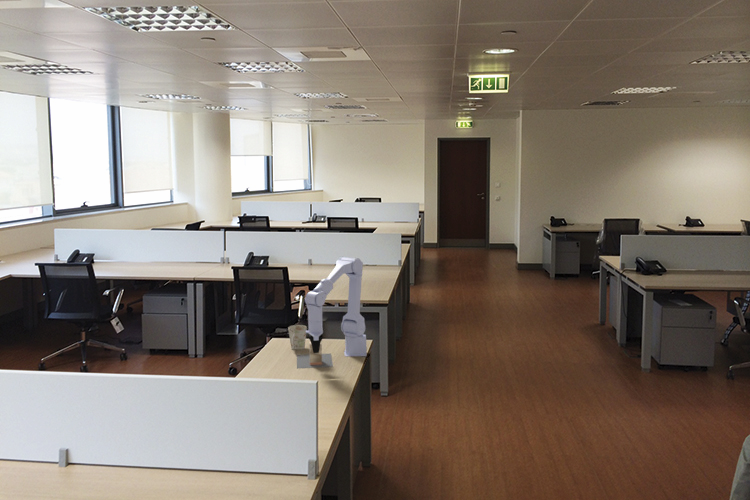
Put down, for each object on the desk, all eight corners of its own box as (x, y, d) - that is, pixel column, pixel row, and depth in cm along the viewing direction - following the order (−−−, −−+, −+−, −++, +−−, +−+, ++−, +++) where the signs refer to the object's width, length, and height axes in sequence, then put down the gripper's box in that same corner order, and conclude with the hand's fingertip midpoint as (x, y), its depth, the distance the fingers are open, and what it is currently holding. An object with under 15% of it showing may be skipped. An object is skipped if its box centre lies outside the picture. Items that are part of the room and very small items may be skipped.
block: (321, 360, 275) (321, 340, 274) (321, 364, 271) (321, 343, 269) (309, 361, 275) (309, 340, 274) (310, 365, 270) (309, 344, 269)
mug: (308, 345, 298) (308, 325, 297) (303, 354, 286) (302, 332, 284) (291, 345, 299) (290, 324, 298) (284, 353, 287) (284, 332, 285)
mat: (330, 354, 285) (330, 353, 285) (333, 367, 268) (333, 366, 268) (296, 355, 284) (296, 354, 284) (296, 369, 266) (296, 368, 266)
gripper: (305, 316, 269) (306, 347, 271) (305, 325, 255) (306, 358, 257) (322, 315, 270) (322, 346, 272) (323, 324, 256) (324, 357, 258)
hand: (316, 352), depth 264 cm, fingers closed
